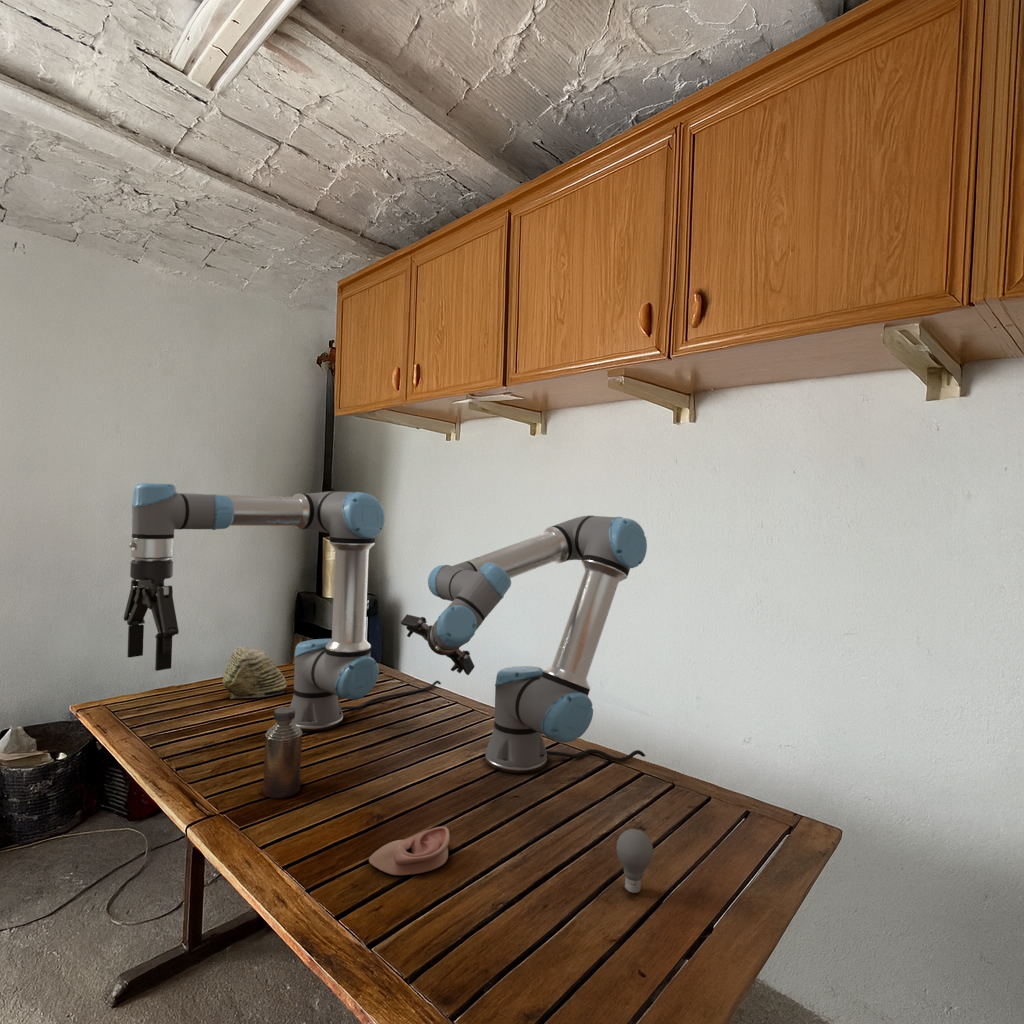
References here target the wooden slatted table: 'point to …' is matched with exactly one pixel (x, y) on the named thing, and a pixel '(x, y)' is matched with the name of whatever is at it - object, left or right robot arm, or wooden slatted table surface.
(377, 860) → the anatomical model
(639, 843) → the light bulb
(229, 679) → the fossil
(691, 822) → the wooden slatted table surface
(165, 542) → the left robot arm
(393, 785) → the wooden slatted table surface
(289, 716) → the cap
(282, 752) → the bottle
